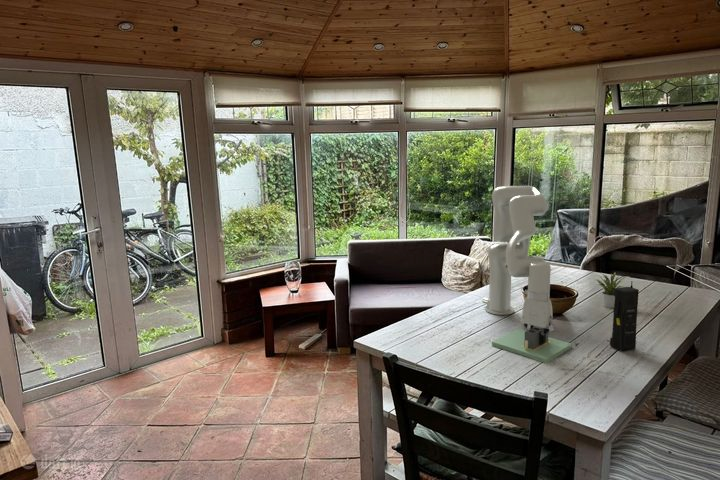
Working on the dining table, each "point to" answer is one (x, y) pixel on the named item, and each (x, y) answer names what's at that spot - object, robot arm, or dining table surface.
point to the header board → (541, 353)
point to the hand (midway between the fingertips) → (536, 341)
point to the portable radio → (624, 318)
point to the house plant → (609, 290)
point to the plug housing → (534, 337)
